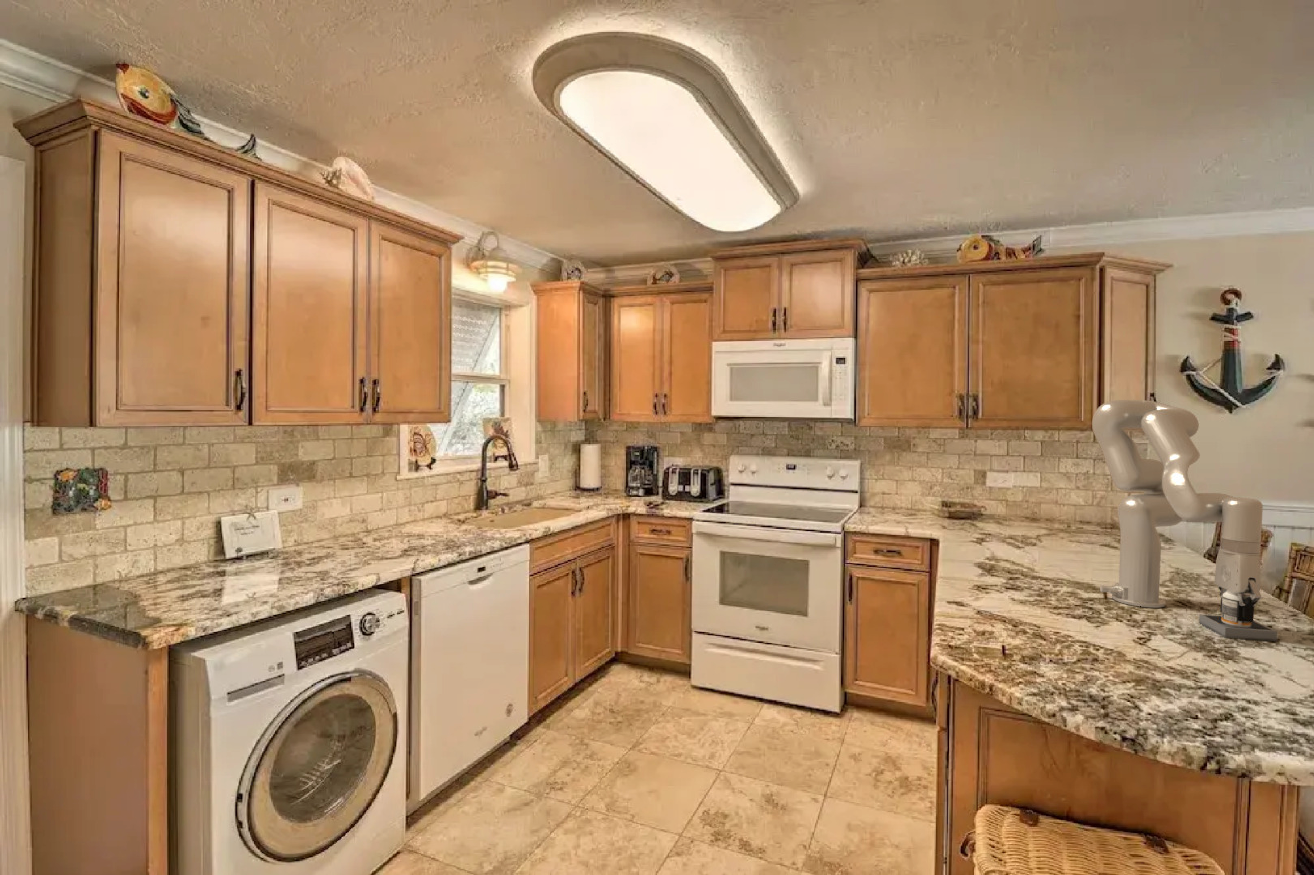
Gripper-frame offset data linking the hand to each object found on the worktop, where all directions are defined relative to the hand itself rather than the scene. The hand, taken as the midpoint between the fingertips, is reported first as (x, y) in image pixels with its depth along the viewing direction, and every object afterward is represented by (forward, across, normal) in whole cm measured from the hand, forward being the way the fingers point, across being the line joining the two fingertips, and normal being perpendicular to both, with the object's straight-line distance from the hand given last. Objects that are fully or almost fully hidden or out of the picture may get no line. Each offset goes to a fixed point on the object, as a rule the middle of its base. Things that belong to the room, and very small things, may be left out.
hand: (1236, 616), depth 163 cm
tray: (+4, 0, 0) cm, 4 cm away
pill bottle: (+2, 0, 0) cm, 2 cm away
